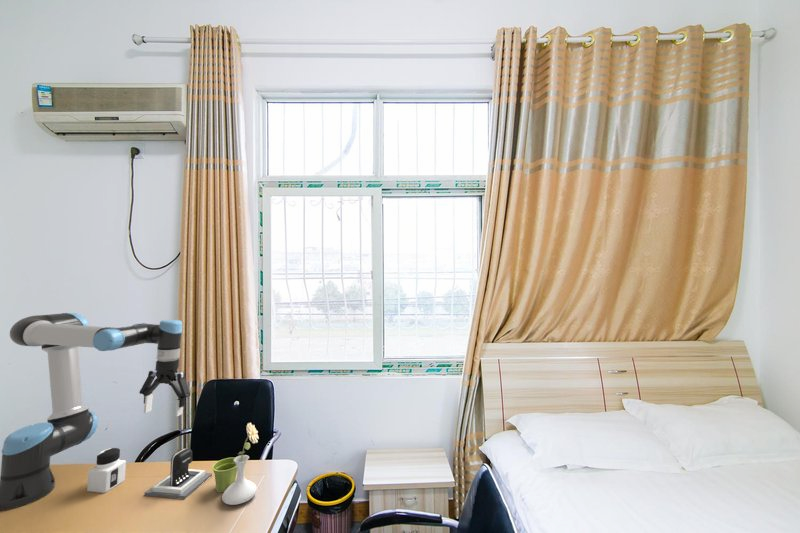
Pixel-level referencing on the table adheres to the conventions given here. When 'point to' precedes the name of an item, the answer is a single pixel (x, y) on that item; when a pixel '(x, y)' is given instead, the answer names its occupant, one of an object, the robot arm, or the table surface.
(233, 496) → the flower in vase
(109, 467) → the container
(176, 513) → the table surface
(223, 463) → the plant pot
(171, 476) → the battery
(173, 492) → the tray
